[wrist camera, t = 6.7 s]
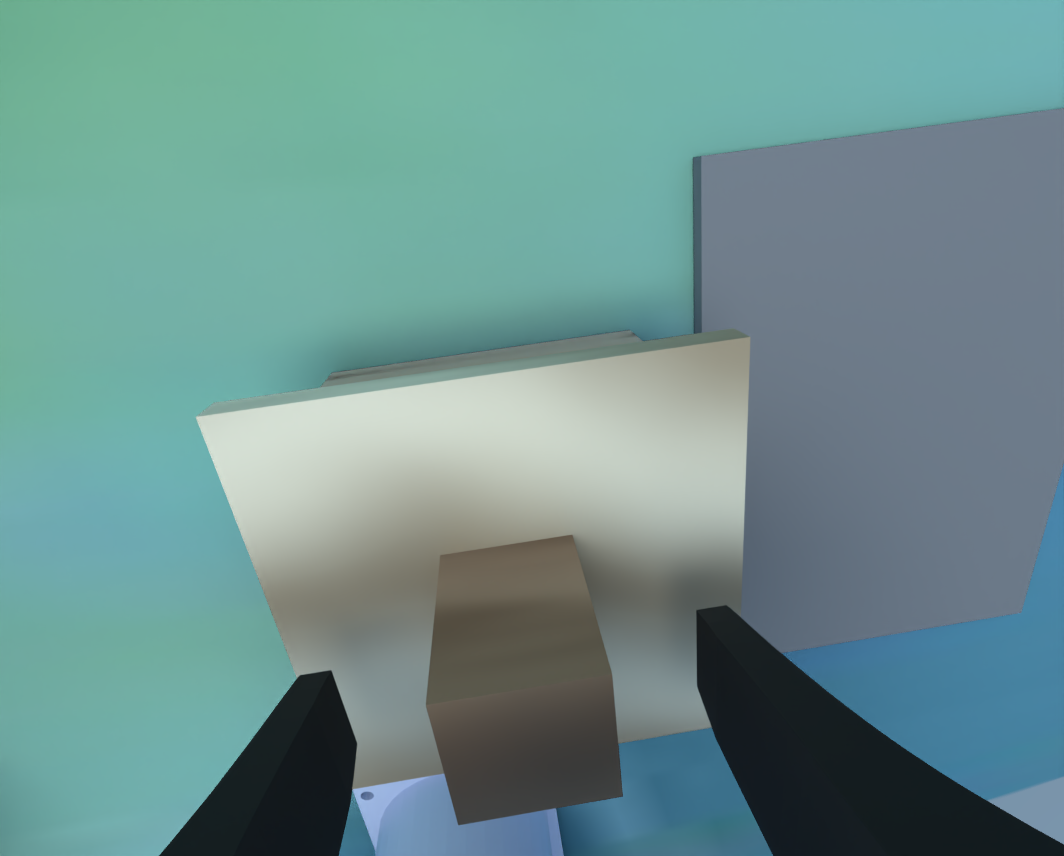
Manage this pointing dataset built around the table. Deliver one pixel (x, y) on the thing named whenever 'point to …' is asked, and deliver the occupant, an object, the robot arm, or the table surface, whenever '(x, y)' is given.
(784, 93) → the table surface
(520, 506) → the lid
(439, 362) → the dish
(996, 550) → the mat
